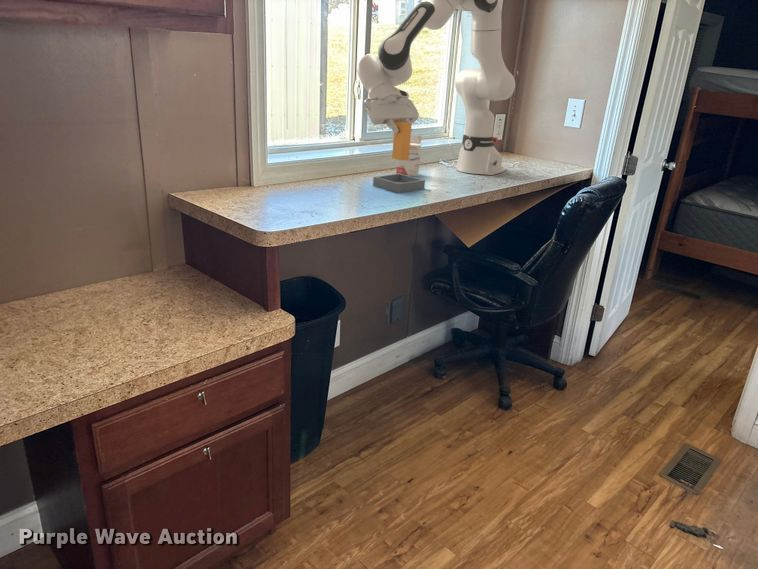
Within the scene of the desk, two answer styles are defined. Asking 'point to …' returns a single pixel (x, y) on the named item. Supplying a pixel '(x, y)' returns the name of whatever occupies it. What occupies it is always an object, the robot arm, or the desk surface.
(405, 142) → the orange rectangular block
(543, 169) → the desk surface
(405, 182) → the tray
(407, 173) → the ink cartridge box
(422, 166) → the desk surface
